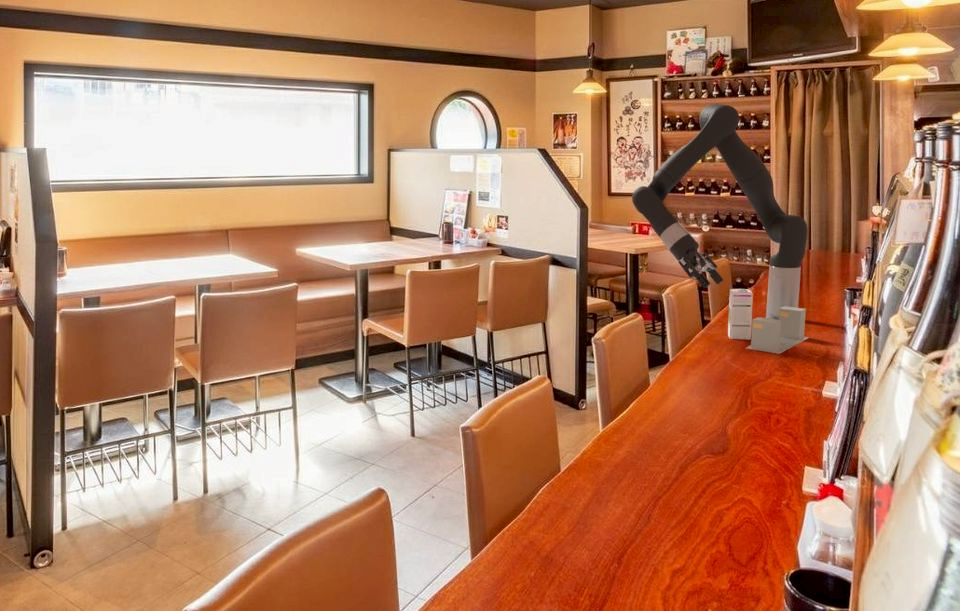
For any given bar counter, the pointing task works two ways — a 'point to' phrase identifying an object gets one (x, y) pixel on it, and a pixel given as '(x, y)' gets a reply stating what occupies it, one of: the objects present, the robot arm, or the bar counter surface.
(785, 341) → the grey flat base plate
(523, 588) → the bar counter surface
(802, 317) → the block
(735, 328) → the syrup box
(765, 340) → the block
